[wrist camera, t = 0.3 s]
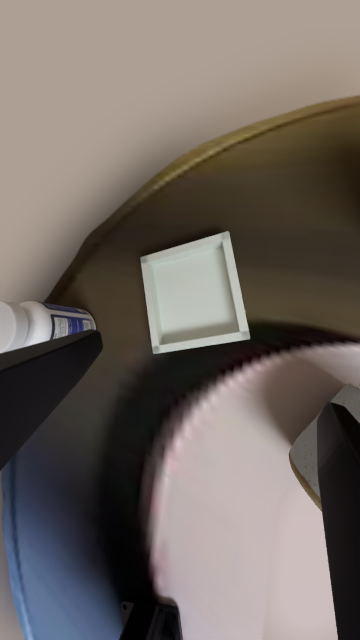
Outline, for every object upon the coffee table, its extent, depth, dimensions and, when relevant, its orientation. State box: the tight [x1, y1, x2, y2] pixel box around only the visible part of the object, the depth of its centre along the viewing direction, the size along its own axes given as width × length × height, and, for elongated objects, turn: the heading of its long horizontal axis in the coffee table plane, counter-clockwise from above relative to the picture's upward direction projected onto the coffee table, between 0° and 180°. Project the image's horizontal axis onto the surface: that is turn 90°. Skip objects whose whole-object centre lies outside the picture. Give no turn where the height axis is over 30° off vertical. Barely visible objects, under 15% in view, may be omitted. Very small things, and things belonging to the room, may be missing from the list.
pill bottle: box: [0, 301, 96, 353], centre depth 23 cm, size 6×6×10 cm
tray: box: [140, 231, 250, 354], centre depth 23 cm, size 11×10×2 cm
